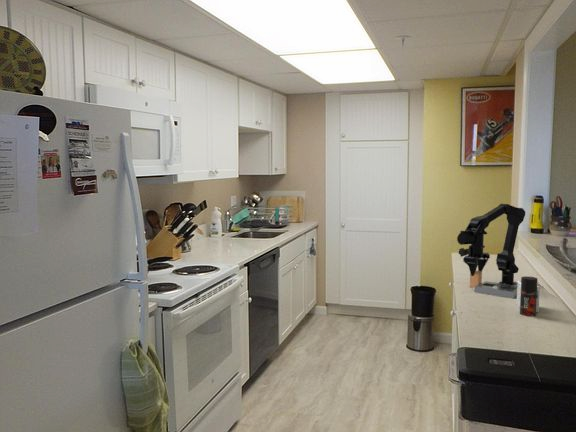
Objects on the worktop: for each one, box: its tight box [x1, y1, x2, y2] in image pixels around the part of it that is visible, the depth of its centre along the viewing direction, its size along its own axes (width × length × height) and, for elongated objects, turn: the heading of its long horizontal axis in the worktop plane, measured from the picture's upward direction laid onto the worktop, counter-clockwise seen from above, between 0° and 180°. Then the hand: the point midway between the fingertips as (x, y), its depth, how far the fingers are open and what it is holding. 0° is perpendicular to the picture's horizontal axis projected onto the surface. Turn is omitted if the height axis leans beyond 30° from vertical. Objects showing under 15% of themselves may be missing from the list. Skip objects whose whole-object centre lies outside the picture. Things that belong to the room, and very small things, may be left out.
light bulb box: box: [516, 280, 541, 313], centre depth 217 cm, size 11×7×11 cm, turn 168°
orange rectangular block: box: [469, 269, 483, 289], centre depth 256 cm, size 4×4×8 cm
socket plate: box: [474, 280, 517, 299], centre depth 245 cm, size 14×18×4 cm
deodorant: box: [519, 276, 538, 317], centre depth 208 cm, size 6×6×15 cm
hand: (476, 274), depth 256 cm, fingers open, 9 cm apart
